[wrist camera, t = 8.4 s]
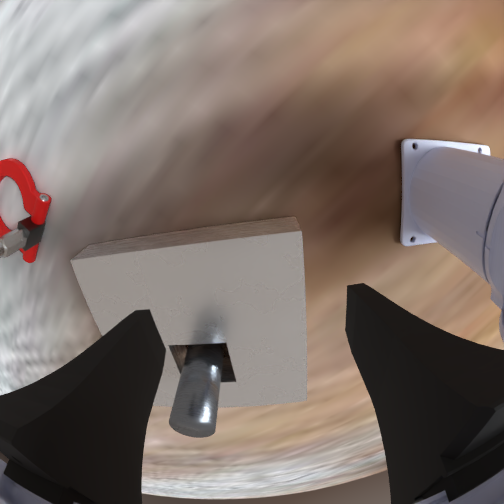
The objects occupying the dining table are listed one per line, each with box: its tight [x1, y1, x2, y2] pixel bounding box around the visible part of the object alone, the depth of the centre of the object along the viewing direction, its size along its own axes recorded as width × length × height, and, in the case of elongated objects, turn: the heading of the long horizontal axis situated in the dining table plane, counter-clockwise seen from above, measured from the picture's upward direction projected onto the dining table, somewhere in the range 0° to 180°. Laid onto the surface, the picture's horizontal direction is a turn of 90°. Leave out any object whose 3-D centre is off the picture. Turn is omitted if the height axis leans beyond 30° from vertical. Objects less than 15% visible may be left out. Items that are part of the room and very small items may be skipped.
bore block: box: [70, 216, 307, 407], centre depth 21 cm, size 16×16×3 cm
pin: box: [169, 343, 225, 438], centre depth 19 cm, size 3×3×9 cm
